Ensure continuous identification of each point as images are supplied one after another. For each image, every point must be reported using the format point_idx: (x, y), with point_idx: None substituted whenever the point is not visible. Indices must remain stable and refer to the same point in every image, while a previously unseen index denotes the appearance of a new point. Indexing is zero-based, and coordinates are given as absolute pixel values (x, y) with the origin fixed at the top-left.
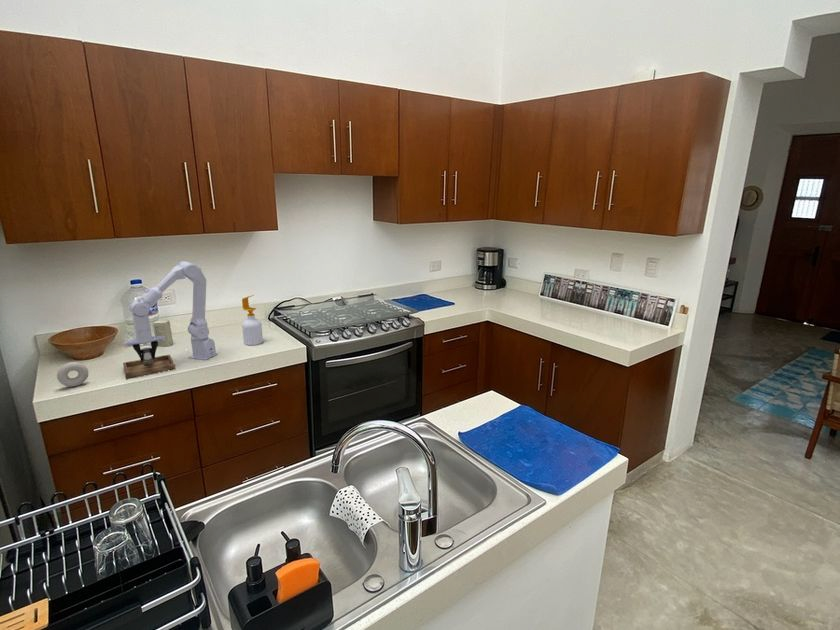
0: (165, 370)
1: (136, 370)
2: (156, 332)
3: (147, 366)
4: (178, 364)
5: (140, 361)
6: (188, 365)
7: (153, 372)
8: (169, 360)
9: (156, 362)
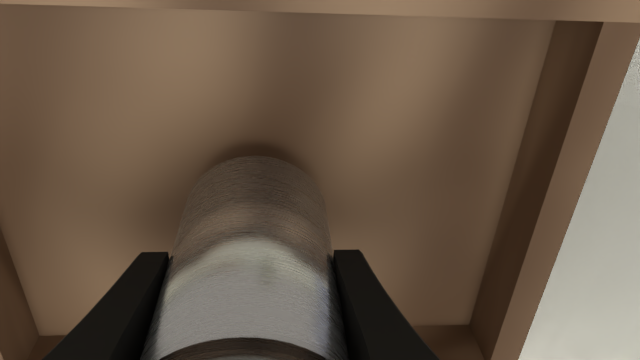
0: None
1: (101, 206)
2: None
3: (240, 137)
4: (572, 220)
5: (132, 4)
6: (624, 295)
7: None
8: (529, 206)
9: (380, 34)
